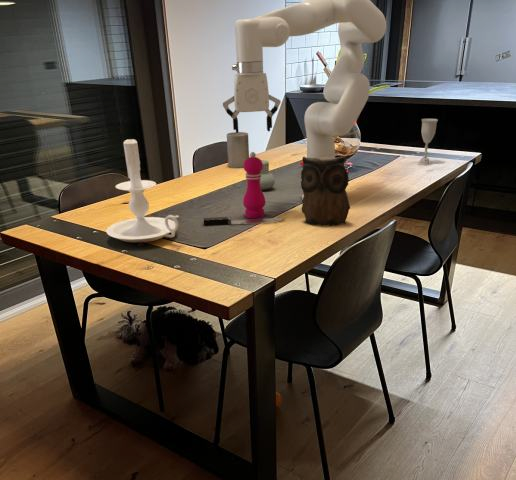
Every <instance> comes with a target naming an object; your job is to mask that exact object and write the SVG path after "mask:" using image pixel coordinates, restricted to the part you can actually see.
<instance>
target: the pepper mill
mask: <svg viewBox="0 0 516 480" xmlns="http://www.w3.org/2000/svg"><path fill="white" fill-rule="evenodd" d="M256 155H257V154H256V153H255V152H254V151H251V152H249V158H248V159H246V160H245V162H244V167H243V170H244V172H246V173H245V179H246V182H247V187H246V191H245V193H244V196H243V201H242V202H243V206H244V208H245V210H244V216H245V217H246V218H248V219H261V218H263V217H264V216H265V209H264V207H265V206H266V198H265V195H264V192H263V190H261V187H260V178H261V173H260V171H261V170H262V168H263V164H262V161H261V160H262V159H261V158H259V157H258V156H257V157H256Z"/></svg>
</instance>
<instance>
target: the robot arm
mask: <svg viewBox="0 0 516 480" xmlns="http://www.w3.org/2000/svg"><path fill="white" fill-rule="evenodd" d="M337 24H338V27H337V34H338V40H339V44H340V51H339V52H340V53H339V57H338V59H337V62H336V64H335V65H334V67H333V69H332V70H331V73H330V74H329V77H328V78H327V80H326V82H325V84H324V87H323V91H322V93H323V97H324V99H325V101H317V102H313V103H312V104H310V105H309V106H308V107H307V109H306V110H305V112H304V117H303V118H304V119H303V120H304V128H305V134H306V158H318V157H325V158H326V157H335V156H336V155H335V154H336V144H335V140H334V137H333V136H335V137H344V136H345V135H347V134H348V133H350V131H351V130H352V129H353V127H354V125H355V124H356V122H357V120H358V119H359V117H360V116H361V115H360V114H361V112H362V111H363V110H364V108H365V105H366V103H367V101H368V100H369V97H370V91H371V84H370V81H369V78H368V77H367V76H366V75H365V74H363V73H361V72H362V70H363V68H364V64H365V55H364V50H363V47H362V46H363V45H362V44H374V43H377V42H379V41H381V40H382V39H383V37H384V36H385V35H386V32H387V21H386V17H385V15H384V13H383V12H382V11H381V10H380V9H379V8H378V7H377V6H376V5H375V4H374V2H372V1H371V0H304V1H301V2H297V3H294V4H291V5H289V6H286V7H283V8H279V9H276V10H272V11H269V12H266V13H264V14H262V15H259V16H256V17H253V18H240V19H237V20H236V21H235V24H234V34H235V35H234V37H235V54H236V63H235V64H232V65H231V70H232V71H236V72H237V73H236V74H234V81H233V83H234V85H233V96H231V97H230V98H228V99H227V100H226V101H224V102H222V107H223V109H224V110H225V112H226V114H227V115H228V116H230V117H231V118H232V127H233V131H235V132H236V133H238V132H239V118H238V115H239V114H240V113H255V112H256V113H257V112H265V113H266V114H267V115H266V130H267V132H271V129H272V128H273V116H274V115H275V113H276V112H277V111H278V110H279V107H280V105H281V99H279V98H277V97H275V96H273V95H271V94H269V84H268V83H269V82H268V77H267V73H266V72H264V53H263V52H264V51H263V48H280V47H281V46H283V45H284V44H286V42H288V40H289V37H300V36H306V35H310V34H313V33H315V32H319V31H320V30H322V29H326V28H327V27H331V26H333V25H337ZM270 101H271V102H273V103H274V106H273V107H272V108H271V109H270V108H269V107H270ZM232 103H234V110H233V111H232V110H231V109H230V105H231V104H232ZM335 158H336V157H335ZM303 197H304V193H303V194H302V195H301V200H302V201H303Z"/></svg>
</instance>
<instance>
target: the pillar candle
mask: <svg viewBox="0 0 516 480" xmlns="http://www.w3.org/2000/svg"><path fill="white" fill-rule="evenodd" d="M226 149H227V166H228V168H232V169H239V168H240V169H241V168H244V162H245V160H246V159H248V158H250V143H249V133H248V132H245V131H238V133H236V131H234V132H228V133H226Z"/></svg>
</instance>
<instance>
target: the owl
mask: <svg viewBox="0 0 516 480" xmlns="http://www.w3.org/2000/svg"><path fill="white" fill-rule="evenodd" d="M301 161H302V169H301V173H300V179H301V181H300V187H301V189H302V193H303V194H304V197H303V200H302V204H301V213H302V214H303V215H304V218H305V219H304V224H308V225H311V226H329V227H333V226H339V225H346V222H347V218H348V216H349V212H350V209H351V203H350V201H349V196H348V194H347V190H346V189H347V188H348V186H349V179H350V178H349V172H348V171H347V168H346V164H345V162H346V157H345V156H339V157H326V158H325V157H318V158H307V156H303V157H302V159H301Z"/></svg>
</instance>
